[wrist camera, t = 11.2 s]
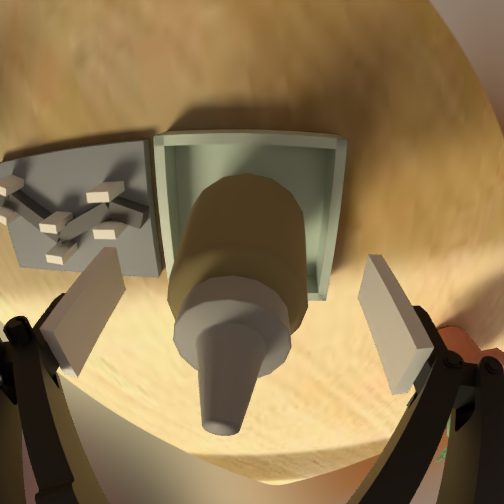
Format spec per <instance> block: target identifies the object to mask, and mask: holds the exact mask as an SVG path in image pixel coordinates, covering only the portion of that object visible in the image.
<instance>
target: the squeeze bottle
mask: <svg viewBox="0 0 504 504" xmlns="http://www.w3.org/2000/svg"><path fill="white" fill-rule="evenodd" d="M167 301H168V303H169V306H170V308H171V311H172V313H173V316H174V318H175V324H174V337H173V341H174V343H175V345H176V347H177V349H178V352H179V354H180V356H181V357H182V358H183V359H184V360H185V361H187V362H188V363H189V364H190V365H191V366H192V367H193V368H194V369H196V370H198V380H199V393H200V406H201V417H202V426H203V428H204V429H205V430H206V431H208V432H210V433H212V434H215V435H221V436H230V435H234V434H236V433H238V432H239V431H240V428H241V425H242V422H243V419H244V416H245V414H246V411H247V408H248V405H249V402H250V399H251V395H252V392H253V389H254V386H255V383H256V380H257V378H259V377H262V376H265V375H267V374H270V373H272V372H273V371H274V370H275V369H276V368H278V367H279V366H280V365H281V364H283V363H284V362H285V360H286V358H287V356H288V353H289V351H290V349H291V337H290V335H291V334H293V333H294V332H295V331H296V330H297V329H298V328H299V327H300V325H301V322H302V320H303V318H304V315H305V313H306V311H307V308H308V291H307V259H306V236H305V226H304V217H303V211H302V210H301V208H300V206H299V205H298V203H297V201H296V200H295V198H294V196H293V195H292V193H291V192H290V191H288V190H287V189H286V188H284V187H283V186H281V185H280V184H279V183H277V182H276V181H274V180H273V179H271V178H267V177H263V176H258V175H254V174H249V173H245V174H239V175H233V176H227V177H222V178H221V179H219V180H218V181H216V182H215V183H213V184H211V185H210V186H208V187H207V188H205V189H204V190H203V191H202V192H201V194H200V195H199V197H198V198H197V200H196V202H195V203H194V205H193V206H192V208H191V210H190V213H189V216H188V219H187V222H186V225H185V228H184V231H183V235H182V238H181V241H180V244H179V247H178V250H177V254H176V257H175V260H174V264H173V267H172V270H171V274H170V277H169V286H168V299H167Z"/></svg>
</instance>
